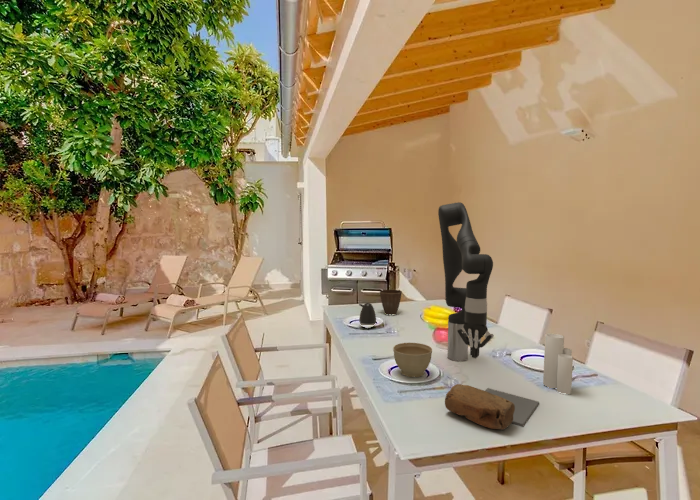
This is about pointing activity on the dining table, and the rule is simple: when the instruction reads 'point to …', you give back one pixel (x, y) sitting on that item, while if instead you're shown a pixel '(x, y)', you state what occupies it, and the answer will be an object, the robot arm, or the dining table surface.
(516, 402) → the flat gray panel
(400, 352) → the planter bowl
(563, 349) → the vase
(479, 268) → the robot arm
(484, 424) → the block
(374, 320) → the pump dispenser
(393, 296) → the plant pot
